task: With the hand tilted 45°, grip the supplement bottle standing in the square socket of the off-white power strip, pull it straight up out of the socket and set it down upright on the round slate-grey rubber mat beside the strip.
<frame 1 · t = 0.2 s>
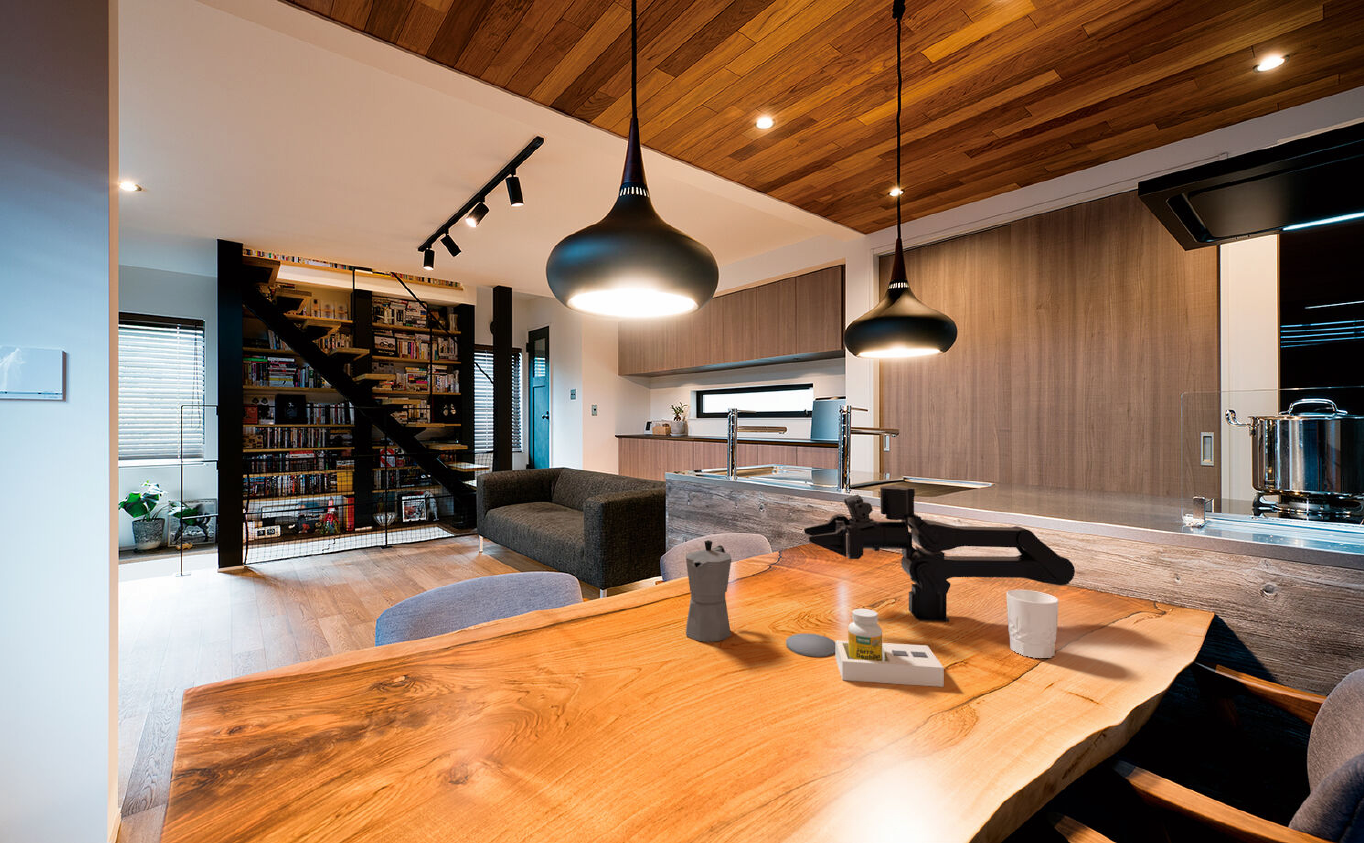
hand: (806, 534, 120), 17 cm above the table, tool horizontal, fingers open, 9 cm apart
mat: (811, 646, 101), on the table
supplement bottle: (865, 671, 92), resting in power strip
white cup: (1031, 652, 99), on the table
power strip: (865, 669, 92), on the table
coffeepot: (710, 632, 108), on the table
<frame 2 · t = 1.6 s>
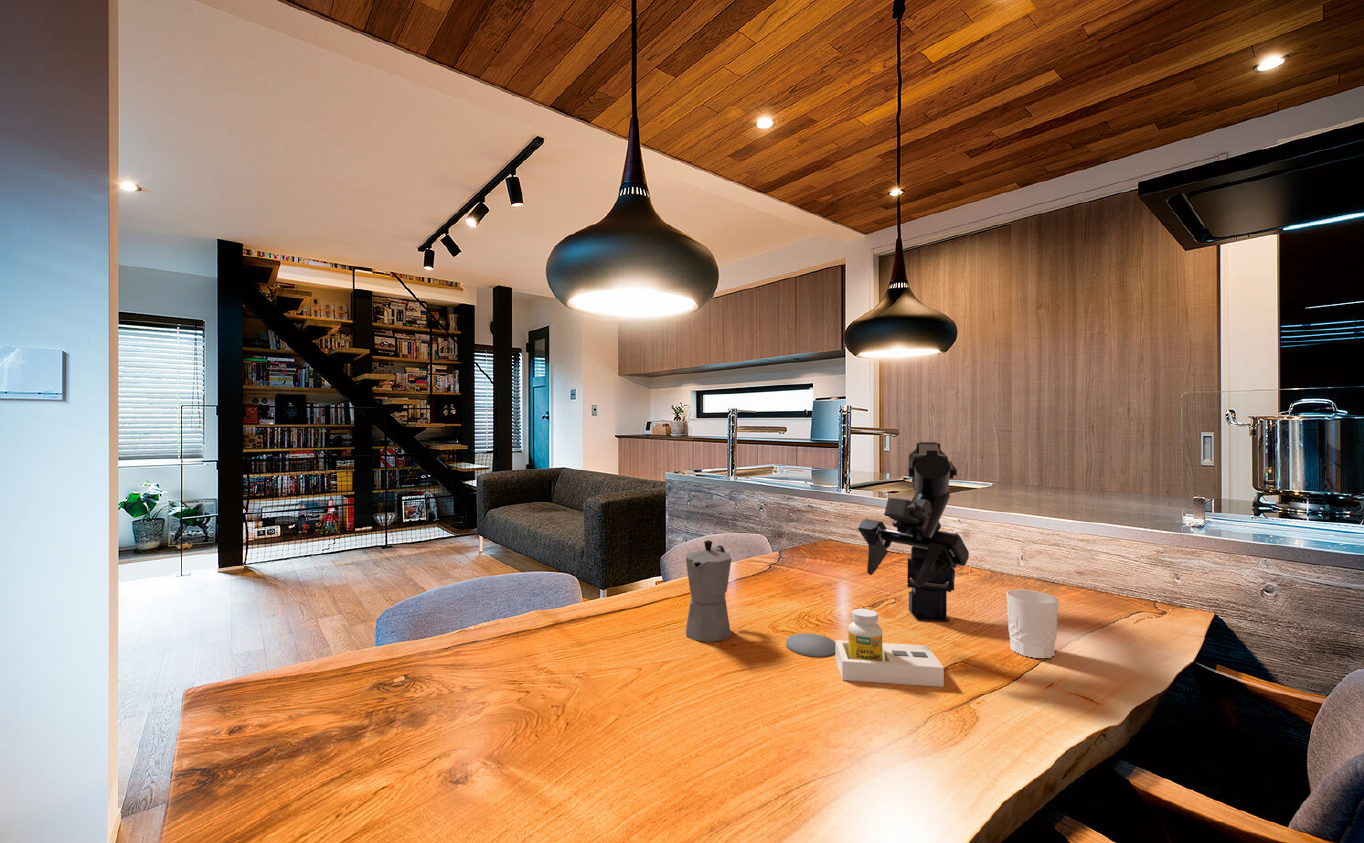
hand: (892, 579, 97), 14 cm above the table, tool tilted 45°, fingers open, 9 cm apart
nothing on the table moved.
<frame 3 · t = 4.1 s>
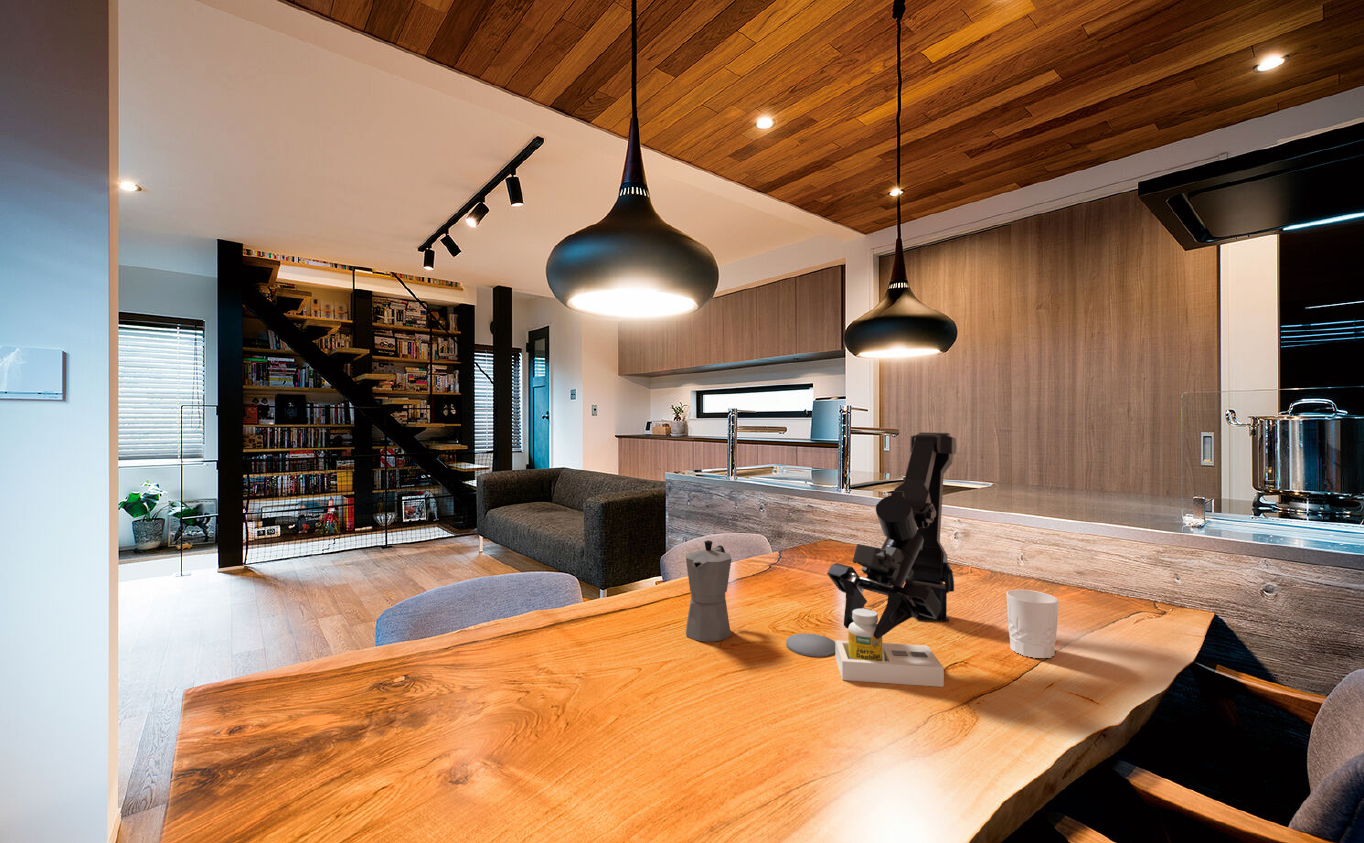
hand: (860, 632, 91), 7 cm above the table, tool tilted 45°, fingers closed on supplement bottle, 5 cm apart
supplement bottle: (865, 671, 92), resting in power strip, touching gripper
everything else where it was.
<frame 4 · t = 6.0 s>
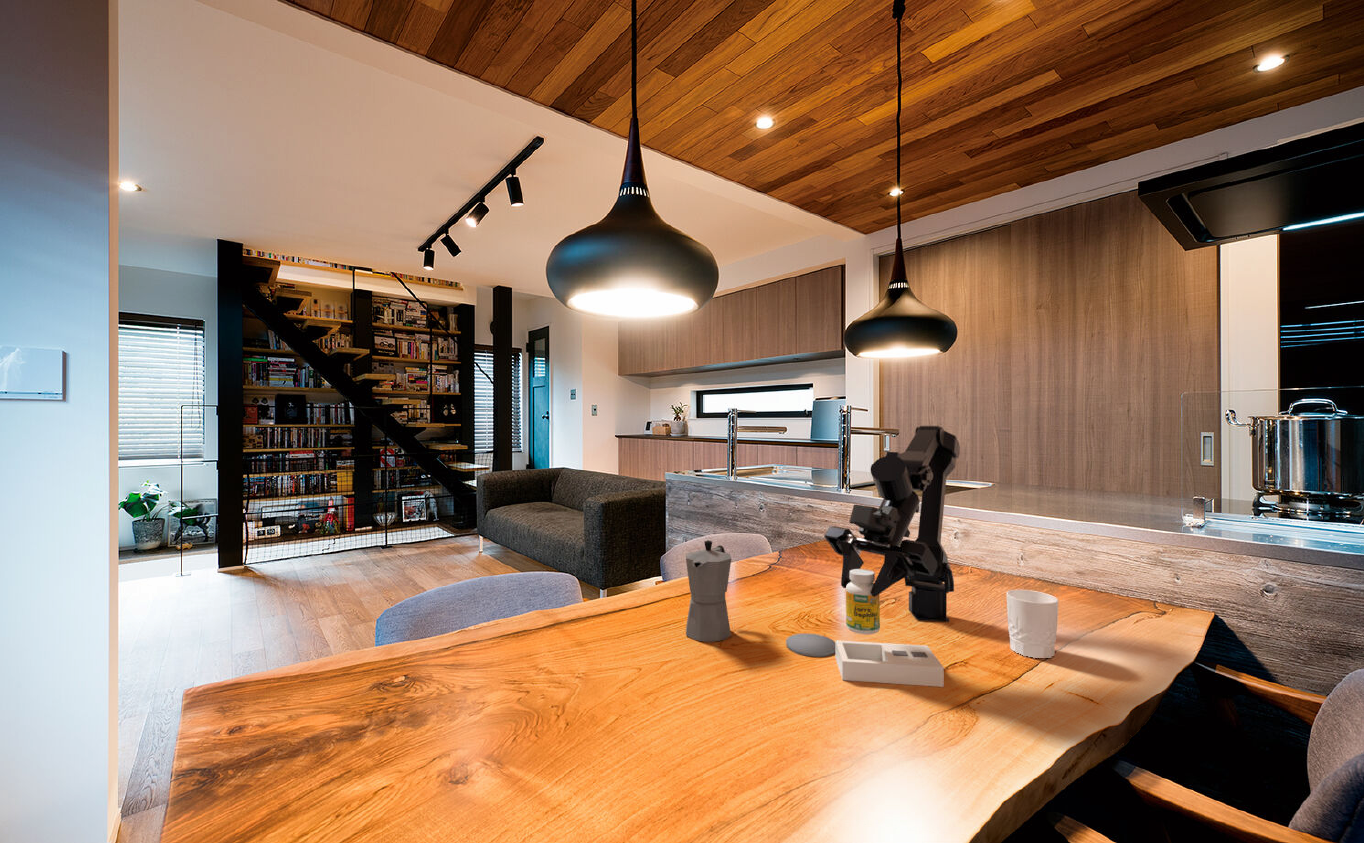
hand: (857, 590, 91), 13 cm above the table, tool tilted 45°, fingers closed on supplement bottle, 5 cm apart
supplement bottle: (862, 630, 92), point 6 cm above the table, touching gripper
everything else where it was.
when the fingers open (8 cm above the table, at t = 8.1 s): supplement bottle stays where it is, resting on mat.
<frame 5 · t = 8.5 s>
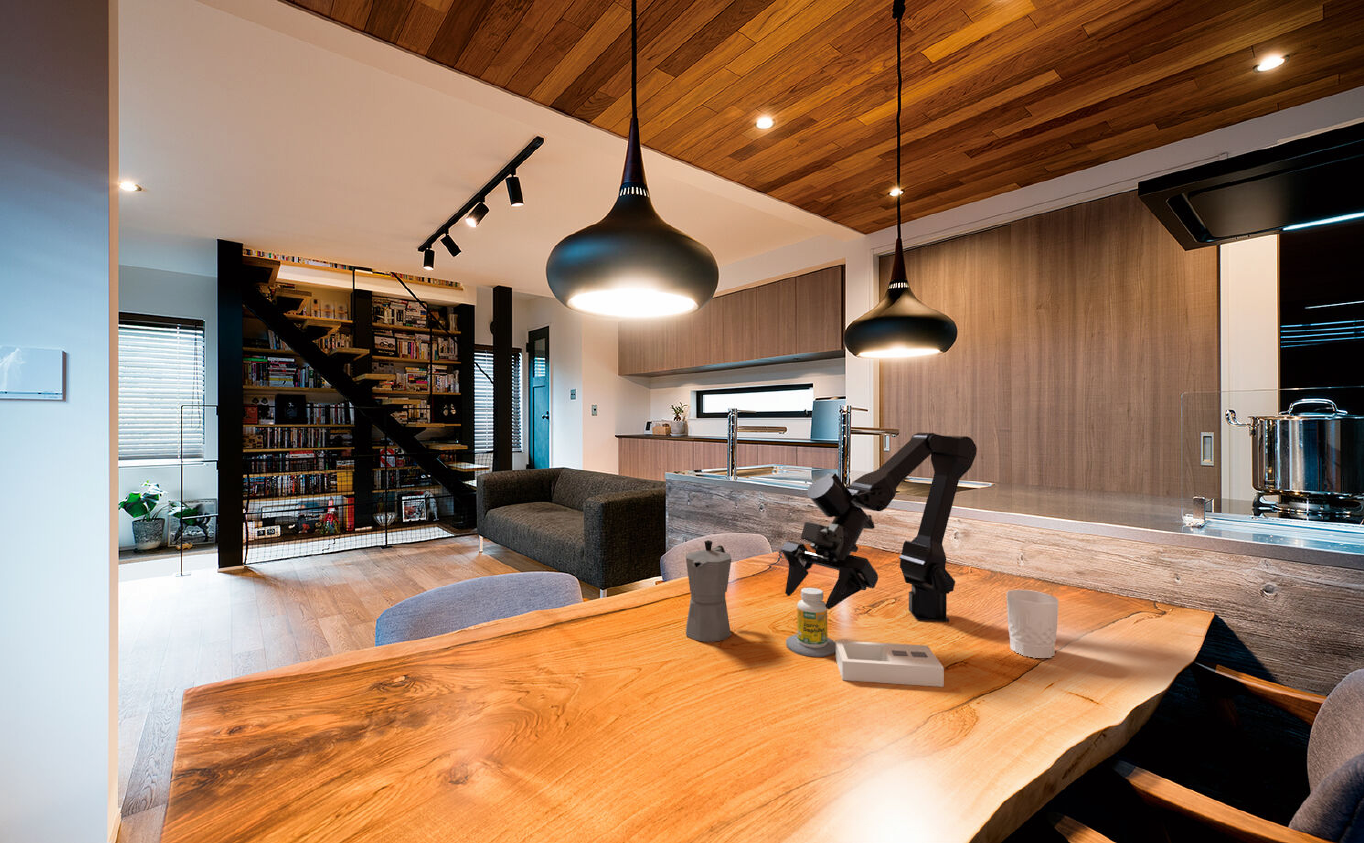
hand: (806, 601, 100), 9 cm above the table, tool tilted 45°, fingers open, 9 cm apart
supplement bottle: (812, 644, 101), resting on mat
everything else where it was.
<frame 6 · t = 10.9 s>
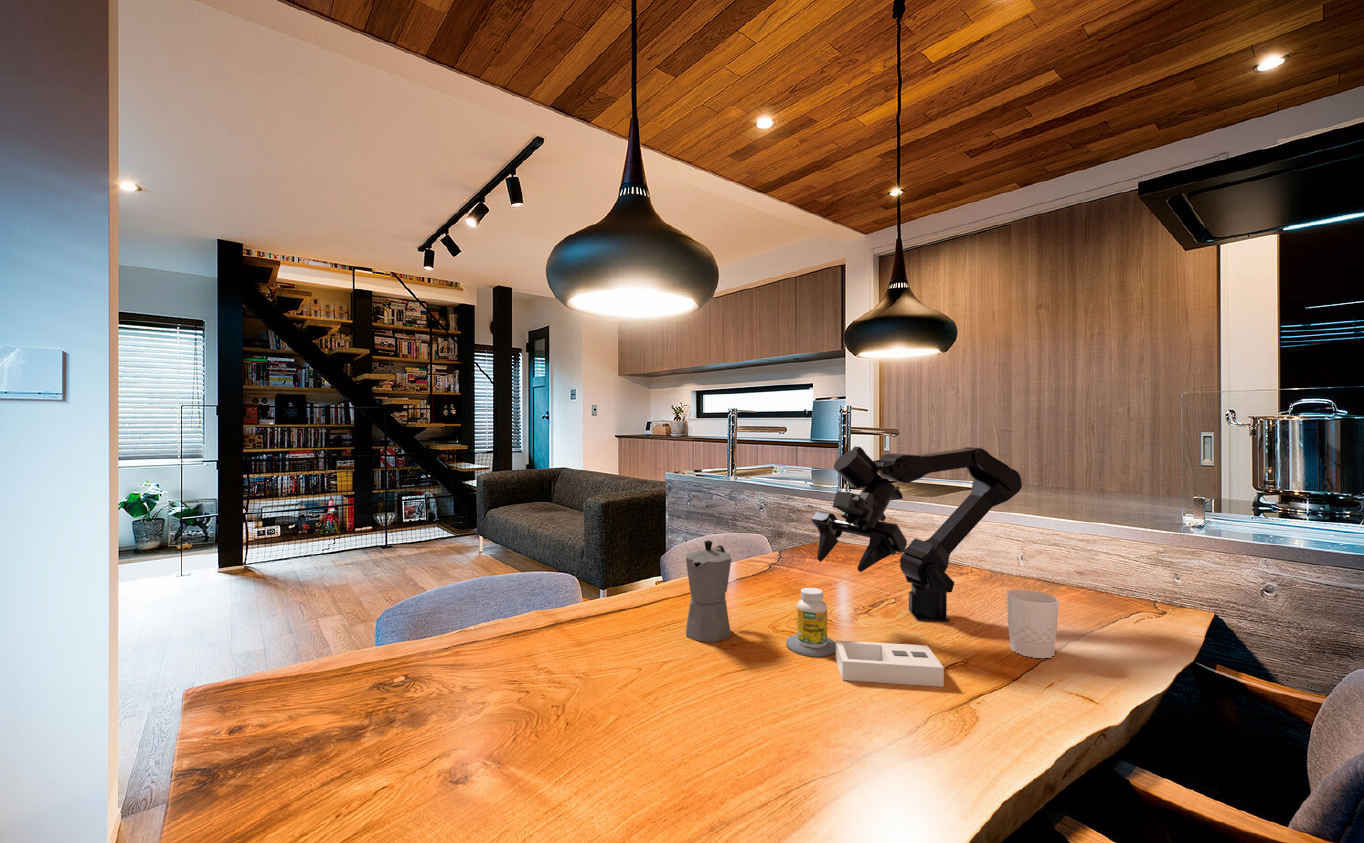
hand: (838, 565, 106), 14 cm above the table, tool tilted 45°, fingers open, 9 cm apart
nothing on the table moved.
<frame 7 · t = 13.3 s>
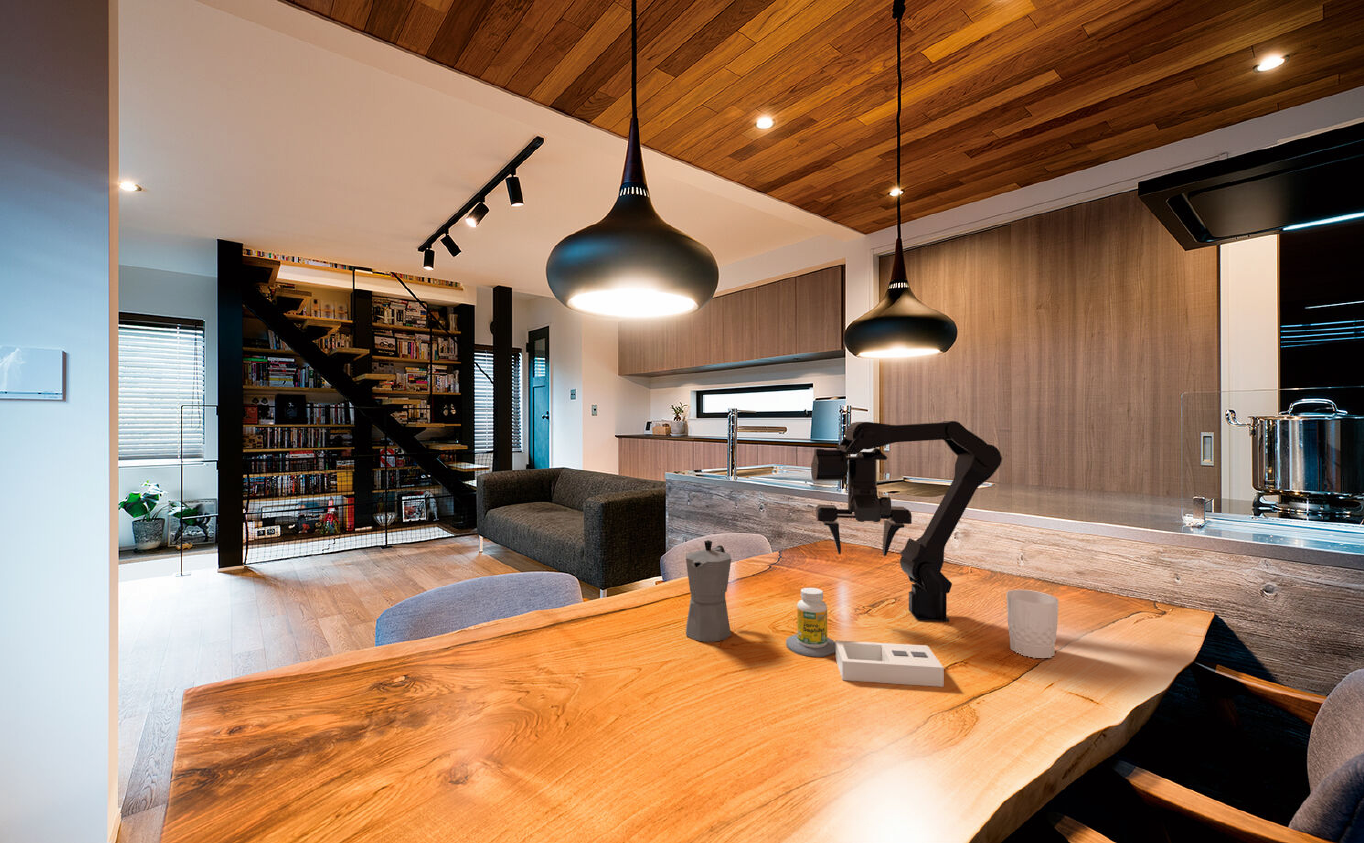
hand: (861, 554, 117), 13 cm above the table, tool pointing down, fingers open, 9 cm apart
nothing on the table moved.
at the end: supplement bottle 0.2 cm off-centre on the mat, point 0.4 cm above the mat's base; supplement bottle tilted 0°; the gripper is holding nothing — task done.
